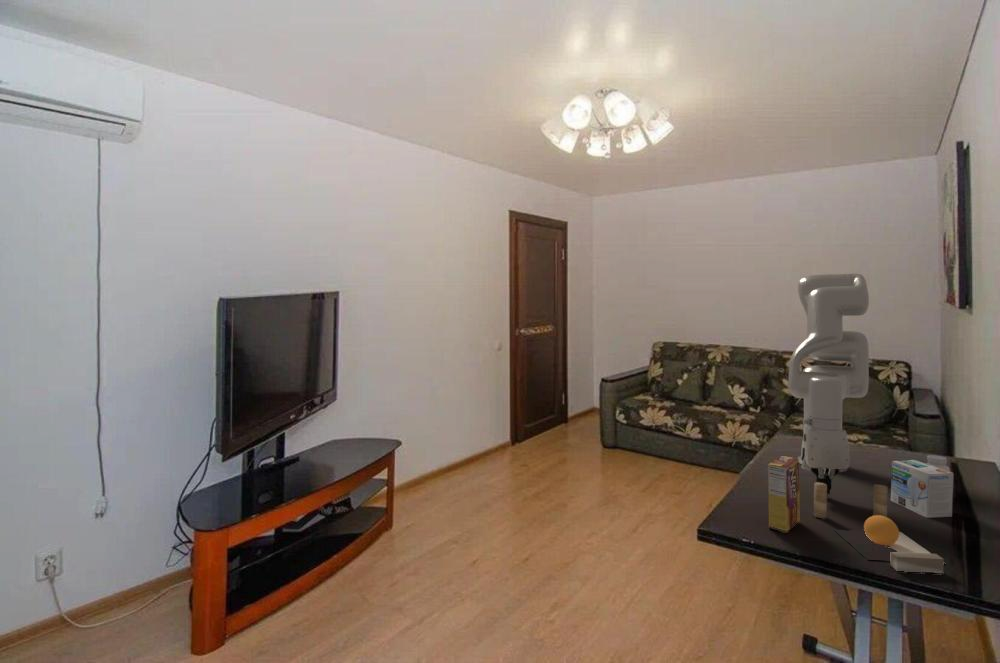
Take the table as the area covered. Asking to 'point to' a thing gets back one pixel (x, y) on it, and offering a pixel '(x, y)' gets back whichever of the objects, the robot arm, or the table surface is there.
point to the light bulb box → (922, 488)
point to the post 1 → (820, 500)
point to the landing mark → (906, 545)
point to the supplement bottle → (937, 462)
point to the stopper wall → (916, 562)
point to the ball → (881, 530)
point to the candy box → (783, 493)
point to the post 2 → (880, 500)
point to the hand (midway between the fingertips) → (823, 492)
